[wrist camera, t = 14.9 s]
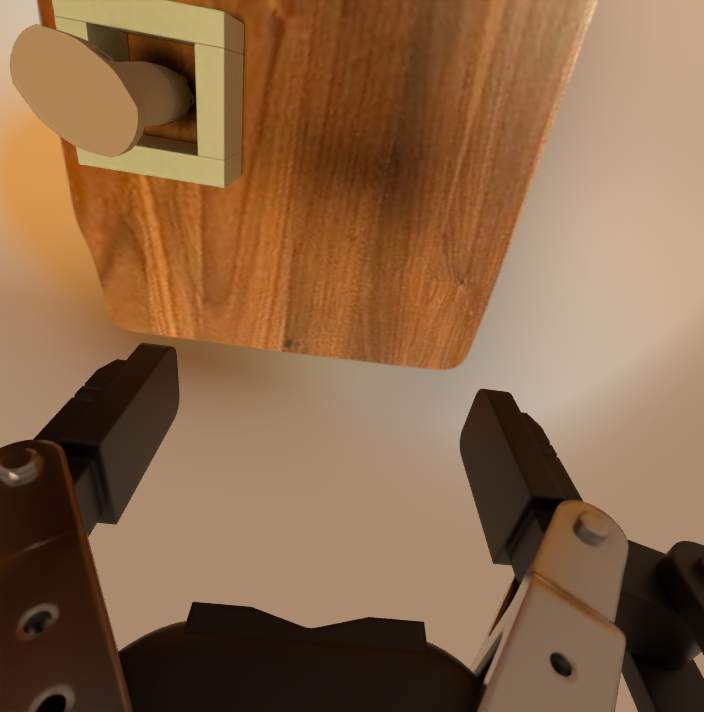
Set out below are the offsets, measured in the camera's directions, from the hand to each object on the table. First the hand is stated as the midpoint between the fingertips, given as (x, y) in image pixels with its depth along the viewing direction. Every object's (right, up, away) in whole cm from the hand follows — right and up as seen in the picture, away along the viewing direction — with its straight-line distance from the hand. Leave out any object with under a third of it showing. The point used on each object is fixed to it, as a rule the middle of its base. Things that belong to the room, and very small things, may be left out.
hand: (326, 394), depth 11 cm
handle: (-14, +23, +24) cm, 36 cm away
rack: (-14, +23, +24) cm, 36 cm away
